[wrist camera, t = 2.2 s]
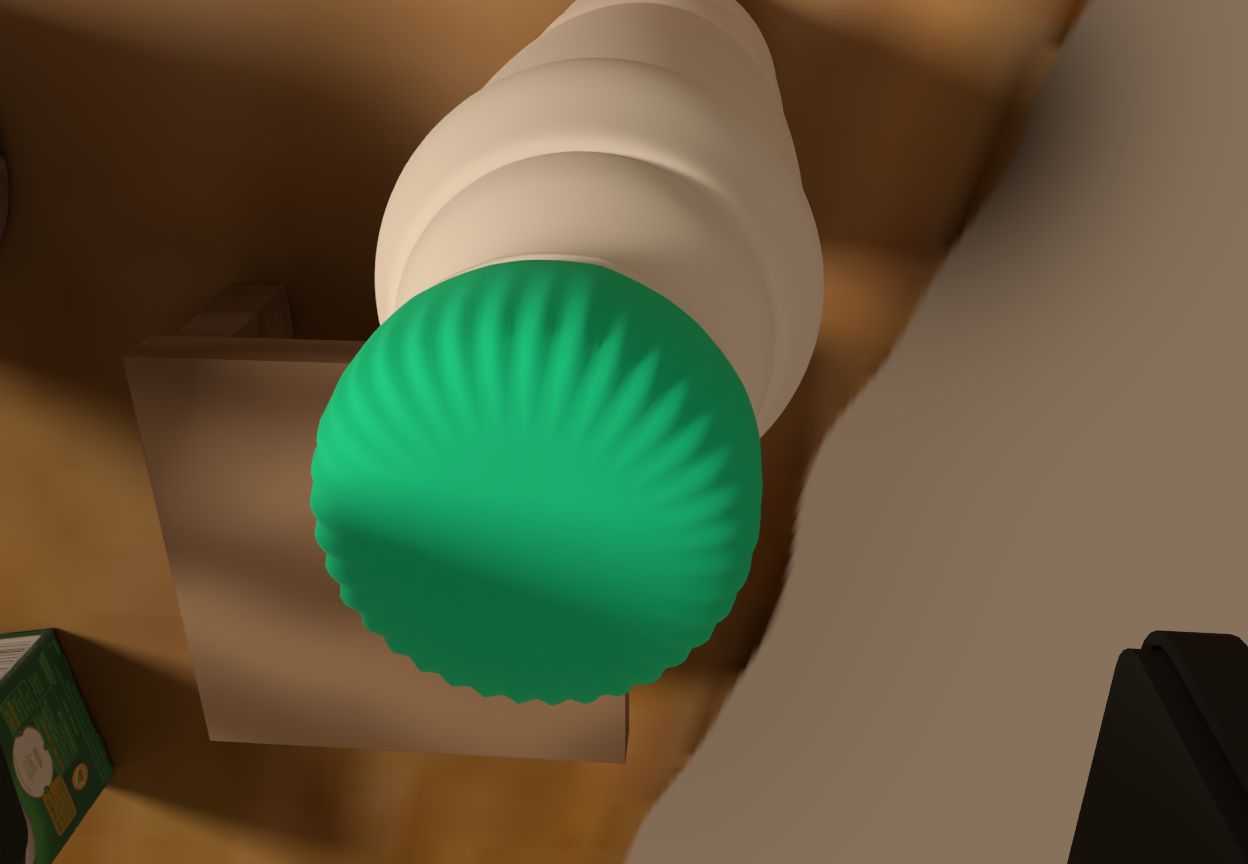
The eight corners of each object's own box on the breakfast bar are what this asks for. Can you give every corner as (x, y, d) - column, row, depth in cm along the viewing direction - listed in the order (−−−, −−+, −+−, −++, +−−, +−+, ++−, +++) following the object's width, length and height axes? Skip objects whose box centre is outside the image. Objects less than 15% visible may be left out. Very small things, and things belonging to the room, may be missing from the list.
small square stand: (223, 274, 37) (122, 356, 30) (641, 284, 36) (624, 371, 29) (283, 615, 43) (209, 740, 37) (639, 631, 42) (625, 763, 36)
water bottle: (518, 174, 34) (146, 726, 12) (570, -64, 31) (192, 94, 9) (734, 235, 35) (756, 880, 12) (808, 5, 31) (1015, 325, 9)
